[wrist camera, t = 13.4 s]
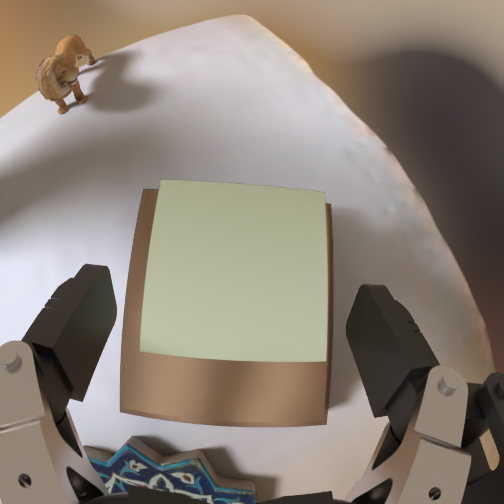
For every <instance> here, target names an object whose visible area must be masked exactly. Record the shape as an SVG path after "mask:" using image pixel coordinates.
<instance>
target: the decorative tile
mask: <svg viewBox="0 0 504 504" xmlns="http://www.w3.org/2000/svg"><path fill="white" fill-rule="evenodd" d="M83 448H84V451H85V453H86V455H87V457H88V460H89V461H90V463H91V465H92V466H93V468H94V469H95V471H96V472H97V473H98V475H99V476H100V478H101V479H102V481H103V483H104V484H105V486H106V488H107V490H108V492H109V493H110V494H112V493H121V492H128V489H129V484H130V485H135V486H140V487H145V488H150V489H155V490H161V491H167V492H174V493H179V494H182V495H185V496H188V497H191V498H194V499H197V500H201V501H204V502H207V503H211V504H256V497H257V491H256V487H255V483H254V481H249V480H241V479H234V478H228V477H222V476H219V475H217V474H216V472H215V471H214V469H213V468H212V466H211V464H210V463H209V461H208V459H207V458H206V456H205V454H204V453H203V451H202V450H201V449H196V450H191V451H186V452H181V453H176V454H170V455H162V454H160V453H159V452H157V451H156V450H154V449H153V448H151V447H150V446H148V445H147V444H145V443H144V442H142V441H141V440H139V439H138V438H137V437H135V436H131V437H130V439H129V440H128V441H127V442H126V443H125V444H124V445H123V446H122V447H121V448H120V449H119V450H118V452H117V453H116V454H109V453H106V452H103V451H100V450H97V449H94V448H91V447H88V446H85V445H84V446H83Z"/></svg>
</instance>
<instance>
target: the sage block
mask: <svg viewBox="0 0 504 504" xmlns="http://www.w3.org/2000/svg"><path fill="white" fill-rule="evenodd" d="M327 321H328V263H327V229H326V208H325V192H320V191H311V190H303V189H293V188H284V187H274V186H263V185H251V184H238V183H224V182H207V181H187V180H161V182H160V188H159V193H158V198H157V203H156V209H155V215H154V221H153V227H152V233H151V240H150V247H149V254H148V262H147V269H146V278H145V287H144V297H143V308H142V320H141V334H140V352H147V353H155V354H163V355H172V356H181V357H192V358H204V359H217V360H234V361H259V362H321V361H326V354H327Z"/></svg>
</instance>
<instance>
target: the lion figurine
mask: <svg viewBox="0 0 504 504" xmlns="http://www.w3.org/2000/svg"><path fill="white" fill-rule="evenodd" d="M76 55H78V56H77V59H78V60H79V59H81V58H82V56H87V65H91V64H93V63H94V62H95V60H94V58H93V56H92V54H91V51H90V50H89V49H87V48H86V47H85V44H84V42H83V41H82V40H81V38H80V37H79V36H77V35H68V36H66V37H65V38H64V39H63V40H62V41H60V42H59V43H58V45H57V48H56V52H55V55H54V56H49V57H47V58H46V59H44V60H43V62H41V64H40V65H39V68H38V69H37V72H36V75H37V76H36V82H37V84H38V86H39V91H40V93H41V94H42V95H43V96H44V98H45V99H47V100H48V99H49V100H51V101H55V103H56V104H57V105H58V106H59V107H60V108H59V110H58V113H59V114H64V113H65V112H66V111H67V105H66V103H65V101H64V100H63V99H64V98H65V97H67V96H68V95H69V94H70V93H71V91H72V90H73V93H74V96H75V99H76V100H77V102H78V103H79V104H83V103H84V102H85V101H86V100H87V97H86V96H85V95H84V94H83V92H82V91H81V89H80V85H79V81H78V79H77V75H78V74H79V68H77V67H75V63H76V58H75V56H76Z"/></svg>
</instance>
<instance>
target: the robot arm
mask: <svg viewBox="0 0 504 504" xmlns="http://www.w3.org/2000/svg"><path fill="white" fill-rule="evenodd" d="M116 316H117V305H116V300H115V295H114V290H113V285H112V280H111V275H110V271H109V268H108V267H107V266H101V265H92V264H85V265H83V266H82V268H81V269H80V270H79V272H78V273H77V274H76V276H75V277H74V278H70V279H68V280H67V281H65V282H64V283H63V284H61V285H60V286H59V287H58V288H57V289H56V291H55V292H54V293H53V295H52V296H51V299H49V300H48V302H47V303H46V304H45V308H43V309H42V310H41V312H40V313H39V314H38V316H37V317H36V319H35V320H34V322H33V323H32V325H31V326H30V328H29V329H28V331H27V332H26V334H25V336H24V337H23V339H22V340H21V341H10V342H7V343H5V344H3V345H2V346H1V347H0V498H1V501H2V504H211V503H207V502H204V501H201V500H197V499H194V498H191V497H188V496H185V495H182V494H179V493H174V492H167V491H161V490H155V489H150V488H145V487H140V486H135V485H130V484H129V489H128V492H121V493H112V494H110V493H109V492H108V490H107V488H106V486H105V484H104V483H103V481H102V479H101V478H100V476H99V475H98V473H97V472H96V471H95V469H94V468H93V466H92V465H91V463H90V461H89V460H88V457H87V455H86V453H85V451H84V448H83V446H82V444H81V441H80V439H79V436H78V434H77V431H76V429H75V426H74V423H73V421H72V418H71V415H70V412H69V410H68V408H67V404H68V402H69V399H74V400H77V401H81V402H83V400H84V397H85V394H86V392H87V389H88V386H89V384H90V381H91V378H92V376H93V373H94V371H95V368H96V366H97V363H98V361H99V358H100V356H101V354H102V351H103V349H104V346H105V344H106V342H107V339H108V337H109V335H110V333H111V330H112V328H113V326H114V324H115V321H116ZM346 336H347V339H348V342H349V345H350V348H351V350H352V353H353V356H354V359H355V362H356V365H357V367H358V370H359V373H360V376H361V379H362V382H363V385H364V388H365V391H366V394H367V397H368V400H369V403H370V406H371V409H372V412H373V415H374V418H376V417H382V416H388V418H389V422H388V423H387V425H386V427H385V429H384V431H383V433H382V436H381V438H380V440H379V443H378V445H377V447H376V449H375V452H374V454H373V456H372V458H371V460H370V462H369V464H368V466H367V468H366V470H365V472H364V474H363V475H362V477H361V478H360V479H359V480H358V481H357V483H356V484H355V485H354V486H353V488H352V489H351V490H350V492H349V493H348V495H347V496H346V498H345V500H344V501H343V500H337V499H333V496H332V491H328V492H321V493H313V494H304V495H294V496H283V497H280V498H276V499H273V500H269V501H265V502H261V503H257V504H504V375H503V374H501V373H492V374H490V375H489V377H488V378H487V379H486V380H485V381H484V383H483V384H474V383H466V381H465V379H464V377H463V376H462V375H461V374H460V373H459V372H458V371H457V370H455V369H454V368H452V367H449V366H445V365H440V364H439V362H438V360H437V359H436V357H435V355H434V353H433V352H432V350H431V348H430V346H429V345H428V343H427V341H426V339H425V338H424V336H423V334H422V333H420V329H419V328H418V326H417V324H416V323H414V319H413V318H412V316H411V315H410V313H409V311H408V310H407V309H406V308H405V307H404V306H403V305H401V304H400V303H399V302H398V301H397V300H394V298H393V297H392V295H391V294H390V292H389V291H388V289H387V287H386V286H384V285H369V284H363V285H361V287H360V288H359V290H358V293H357V296H356V298H355V301H354V304H353V307H352V309H351V312H350V314H349V317H348V320H347V324H346ZM488 429H490V431H491V434H492V436H493V439H494V442H495V444H496V447H497V450H498V453H499V456H500V461H499V464H498V466H497V468H496V469H495V470H494V471H492V470H491V469H490V468H489V465H488V462H487V459H486V456H485V453H484V450H483V447H482V444H481V441H480V439H479V437H480V436H482V435H483V434H484V433H485V432H486V431H487V430H488Z"/></svg>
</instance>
